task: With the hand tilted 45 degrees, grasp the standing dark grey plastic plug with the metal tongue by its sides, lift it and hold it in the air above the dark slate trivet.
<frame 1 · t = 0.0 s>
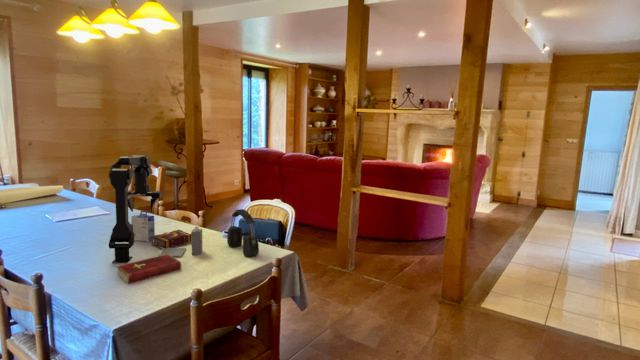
hand: (142, 211, 194), 15 cm above the table, tool pointing down, fingers open, 9 cm apart
hardcover book: (149, 273, 158), on the table
slate trivet: (172, 253, 179), on the table
decorative book: (171, 244, 192), on the table
grey plug: (197, 253, 180), on the table
ink cartridge box: (143, 239, 197), on the table
headphones: (242, 250, 186), on the table
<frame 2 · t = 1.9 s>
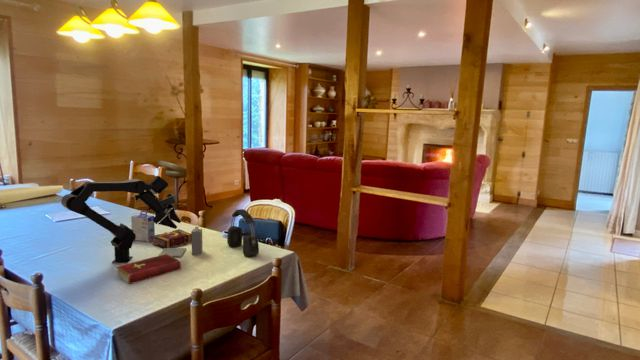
hand: (178, 225, 177), 13 cm above the table, tool tilted 45°, fingers open, 9 cm apart
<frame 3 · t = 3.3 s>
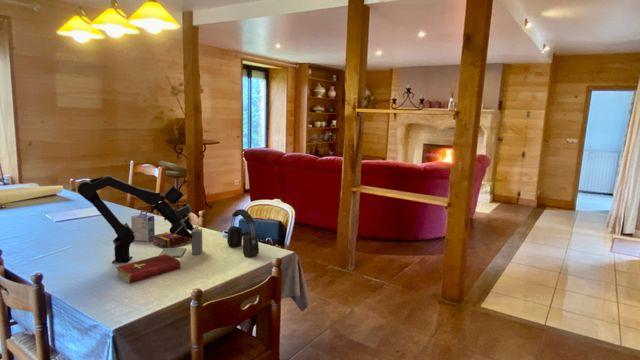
hand: (193, 234, 179), 9 cm above the table, tool tilted 45°, fingers open, 9 cm apart
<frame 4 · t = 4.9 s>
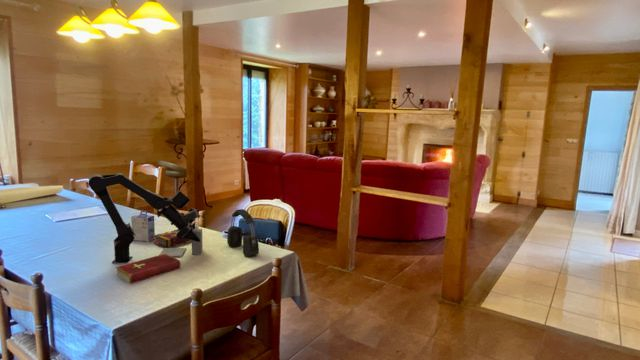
hand: (200, 239, 179), 7 cm above the table, tool tilted 45°, fingers closed on grey plug, 4 cm apart
grey plug: (197, 253, 180), on the table, touching gripper
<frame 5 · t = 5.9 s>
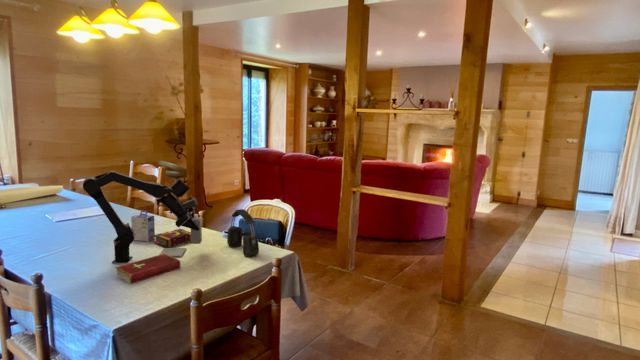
hand: (199, 228, 178), 12 cm above the table, tool tilted 45°, fingers closed on grey plug, 4 cm apart
grey plug: (196, 242, 179), point 5 cm above the table, touching gripper
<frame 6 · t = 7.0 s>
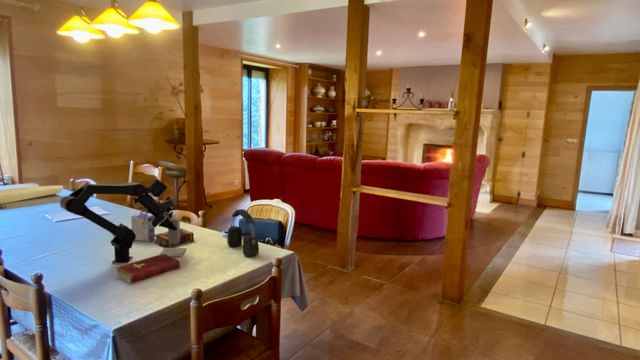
hand: (177, 228, 177), 12 cm above the table, tool tilted 45°, fingers closed on grey plug, 4 cm apart
grey plug: (174, 242, 178), point 5 cm above the table, touching gripper
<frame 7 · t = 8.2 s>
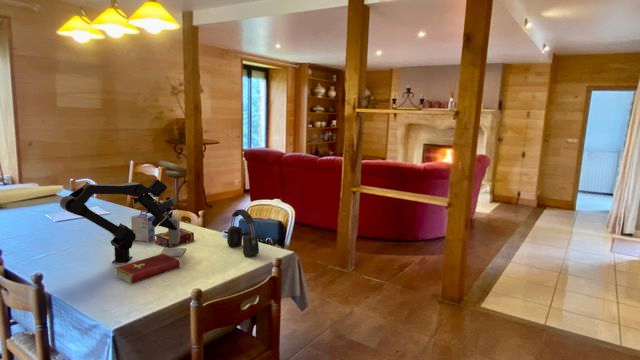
hand: (177, 228, 177), 12 cm above the table, tool tilted 45°, fingers closed on grey plug, 4 cm apart
grey plug: (174, 242, 178), point 5 cm above the table, touching gripper
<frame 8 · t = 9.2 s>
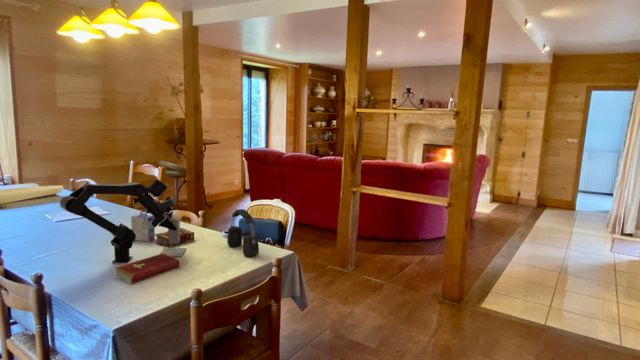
hand: (177, 228, 177), 12 cm above the table, tool tilted 45°, fingers closed on grey plug, 4 cm apart
grey plug: (174, 242, 178), point 5 cm above the table, touching gripper
at the end: the gripper is holding grey plug; grey plug point 5.4 cm above the table; grey plug 1.0 cm from the slate trivet (horizontally) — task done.
